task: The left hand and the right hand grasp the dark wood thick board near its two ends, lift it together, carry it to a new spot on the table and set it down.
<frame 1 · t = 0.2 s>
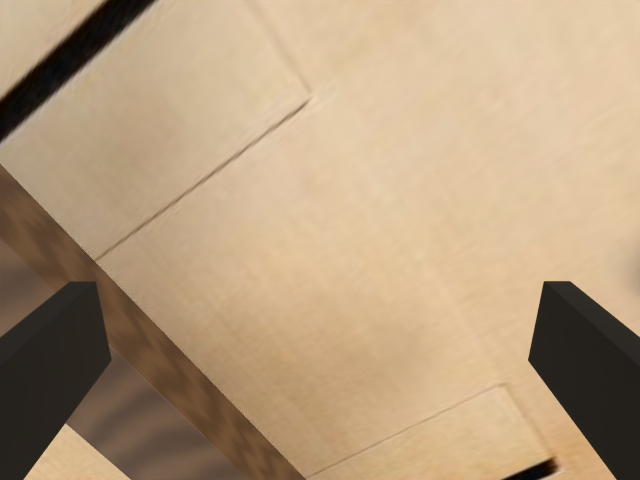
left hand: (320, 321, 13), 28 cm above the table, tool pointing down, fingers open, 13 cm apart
thick board: (114, 340, 46), on the table
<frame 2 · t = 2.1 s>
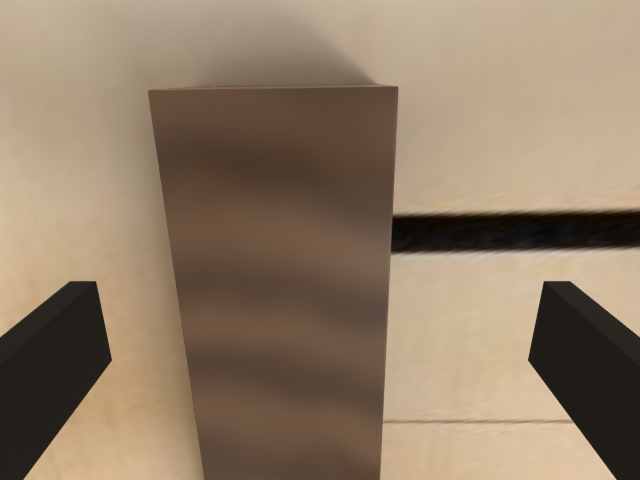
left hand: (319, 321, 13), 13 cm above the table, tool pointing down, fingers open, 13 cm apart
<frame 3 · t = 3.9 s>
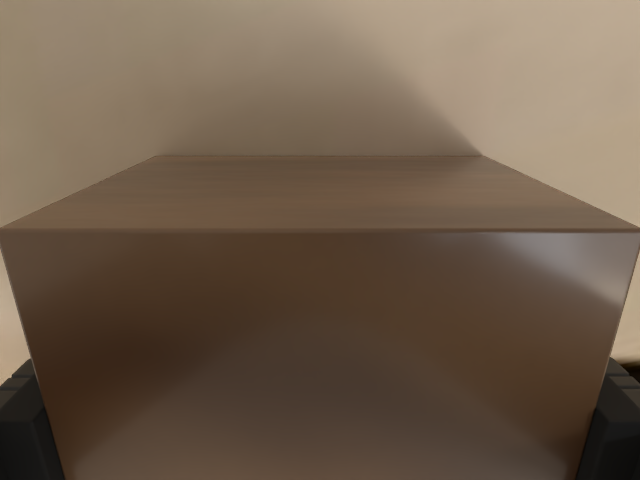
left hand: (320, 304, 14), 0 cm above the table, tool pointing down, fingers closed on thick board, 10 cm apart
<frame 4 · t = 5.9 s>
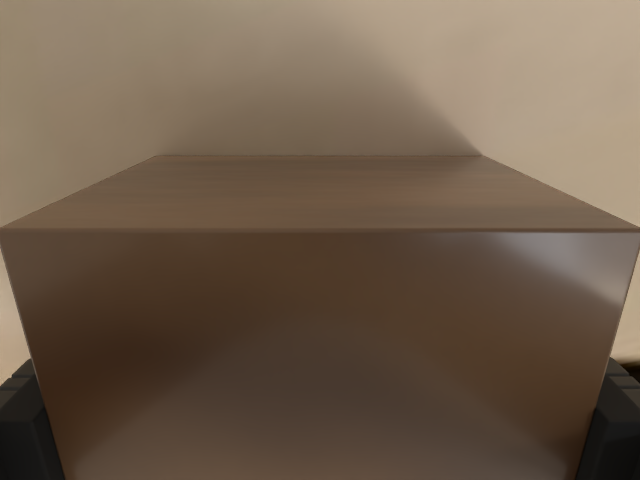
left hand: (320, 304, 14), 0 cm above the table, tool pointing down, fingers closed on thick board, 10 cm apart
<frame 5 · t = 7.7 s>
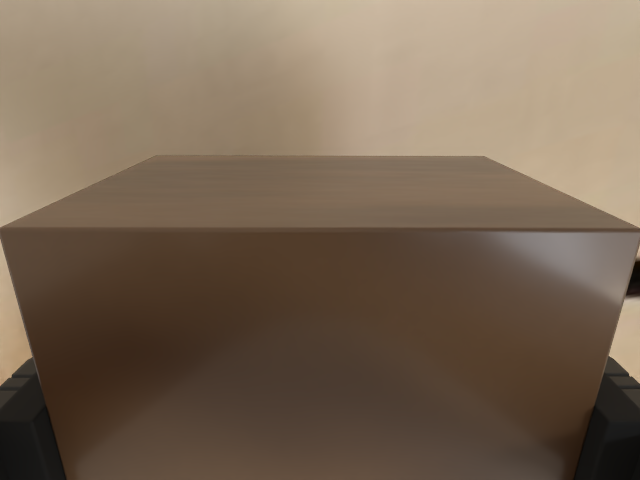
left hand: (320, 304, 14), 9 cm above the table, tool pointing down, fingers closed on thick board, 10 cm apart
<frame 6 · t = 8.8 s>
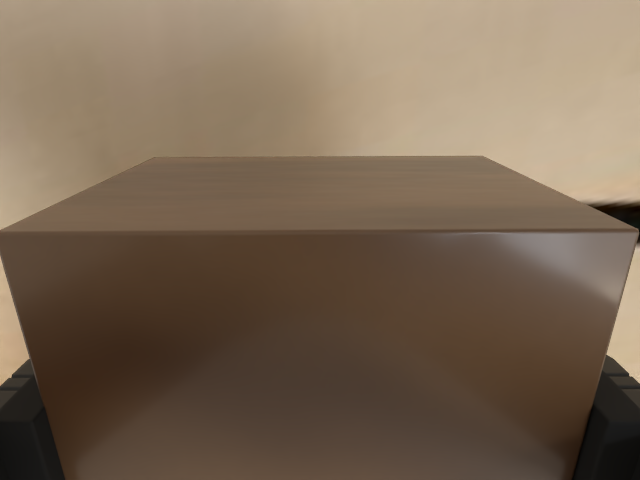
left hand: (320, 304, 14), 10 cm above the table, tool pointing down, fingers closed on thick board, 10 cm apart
when the left hand's fingers open (2 cm above the table, at t = 11.5 s): thick board drops 1 cm, on the table.
when the right hand's fingers open (2 cm above the table, at t = 11.5 s): thick board drops 1 cm, on the table.
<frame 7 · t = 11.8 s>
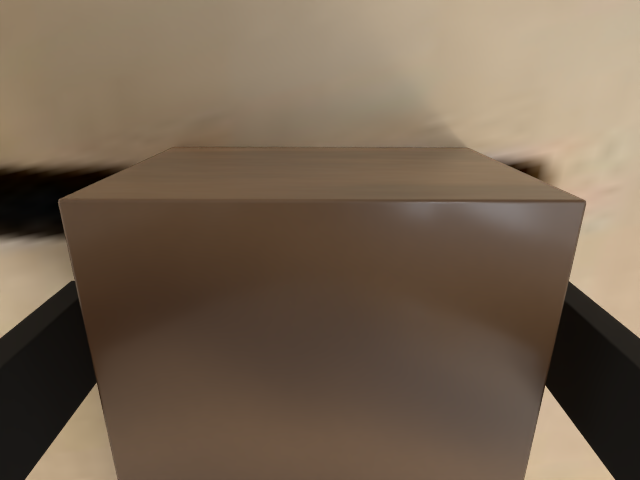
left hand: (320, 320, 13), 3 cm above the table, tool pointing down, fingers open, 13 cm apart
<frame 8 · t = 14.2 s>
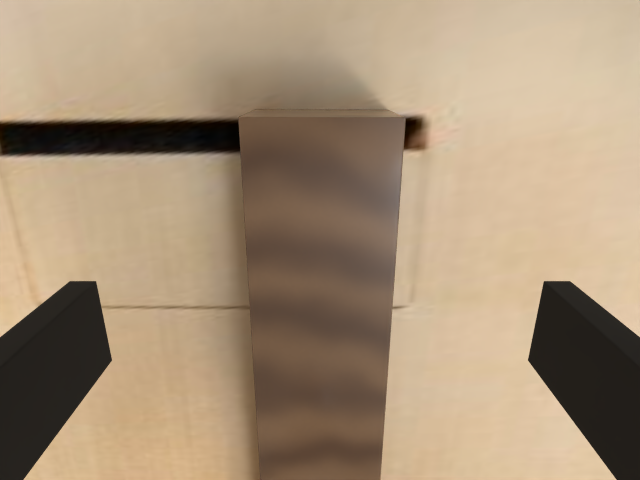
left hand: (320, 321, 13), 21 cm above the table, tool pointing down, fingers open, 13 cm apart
thick board: (320, 436, 42), on the table
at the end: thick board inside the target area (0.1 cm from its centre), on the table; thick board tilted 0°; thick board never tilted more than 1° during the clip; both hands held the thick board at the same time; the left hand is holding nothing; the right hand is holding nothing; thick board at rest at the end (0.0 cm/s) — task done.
